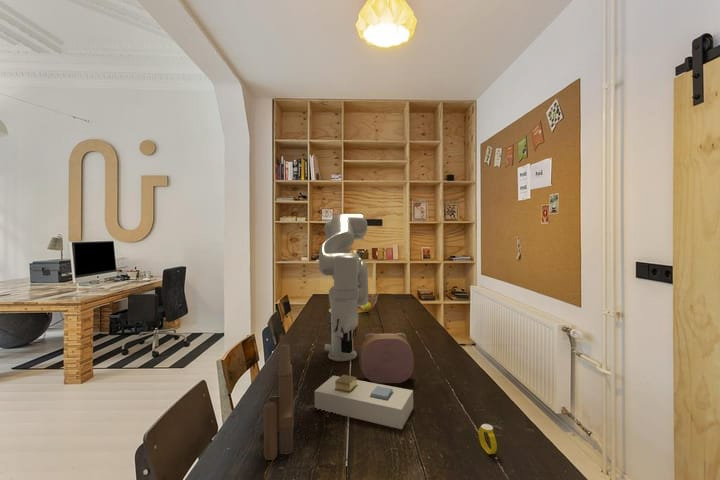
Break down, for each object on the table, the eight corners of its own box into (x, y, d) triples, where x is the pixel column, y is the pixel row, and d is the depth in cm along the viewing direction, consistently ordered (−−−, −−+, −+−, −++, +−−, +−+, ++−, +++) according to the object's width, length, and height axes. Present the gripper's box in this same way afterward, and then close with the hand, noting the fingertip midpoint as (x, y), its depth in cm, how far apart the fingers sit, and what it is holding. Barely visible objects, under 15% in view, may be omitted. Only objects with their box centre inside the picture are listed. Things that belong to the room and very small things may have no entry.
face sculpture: (411, 375, 124) (411, 331, 124) (415, 383, 117) (415, 337, 117) (359, 377, 124) (358, 333, 123) (359, 385, 117) (359, 339, 116)
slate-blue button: (371, 402, 97) (371, 393, 97) (377, 394, 102) (377, 386, 102) (387, 405, 95) (386, 396, 95) (392, 398, 100) (392, 388, 100)
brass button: (335, 389, 102) (335, 381, 102) (342, 383, 107) (342, 374, 107) (349, 392, 100) (349, 383, 100) (356, 385, 105) (356, 377, 105)
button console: (314, 408, 102) (314, 391, 101) (333, 391, 112) (333, 375, 112) (401, 429, 90) (401, 409, 90) (413, 408, 101) (412, 390, 101)
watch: (476, 445, 84) (475, 421, 84) (486, 443, 84) (485, 419, 84) (489, 459, 78) (488, 433, 78) (500, 457, 78) (498, 431, 78)
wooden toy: (269, 425, 93) (268, 337, 93) (293, 422, 94) (292, 336, 94) (263, 462, 78) (261, 358, 77) (292, 458, 79) (290, 355, 79)
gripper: (345, 289, 111) (346, 343, 112) (323, 297, 98) (324, 358, 98) (366, 290, 108) (366, 345, 109) (346, 299, 95) (347, 362, 95)
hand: (346, 351), depth 103 cm, fingers closed
